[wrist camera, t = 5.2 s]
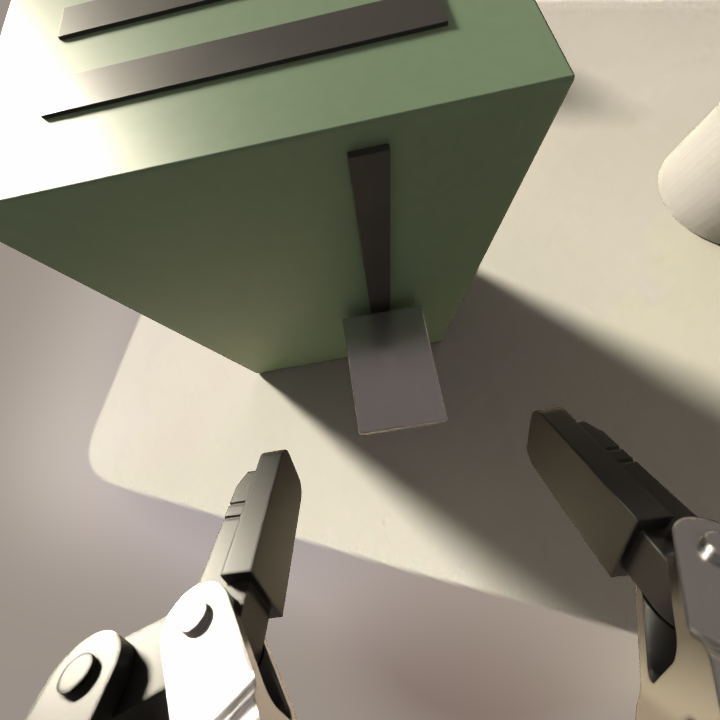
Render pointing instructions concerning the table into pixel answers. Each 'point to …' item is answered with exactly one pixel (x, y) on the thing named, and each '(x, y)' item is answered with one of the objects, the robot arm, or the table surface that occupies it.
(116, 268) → the toaster
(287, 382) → the table surface
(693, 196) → the coffee mug
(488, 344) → the table surface
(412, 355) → the toaster lever
